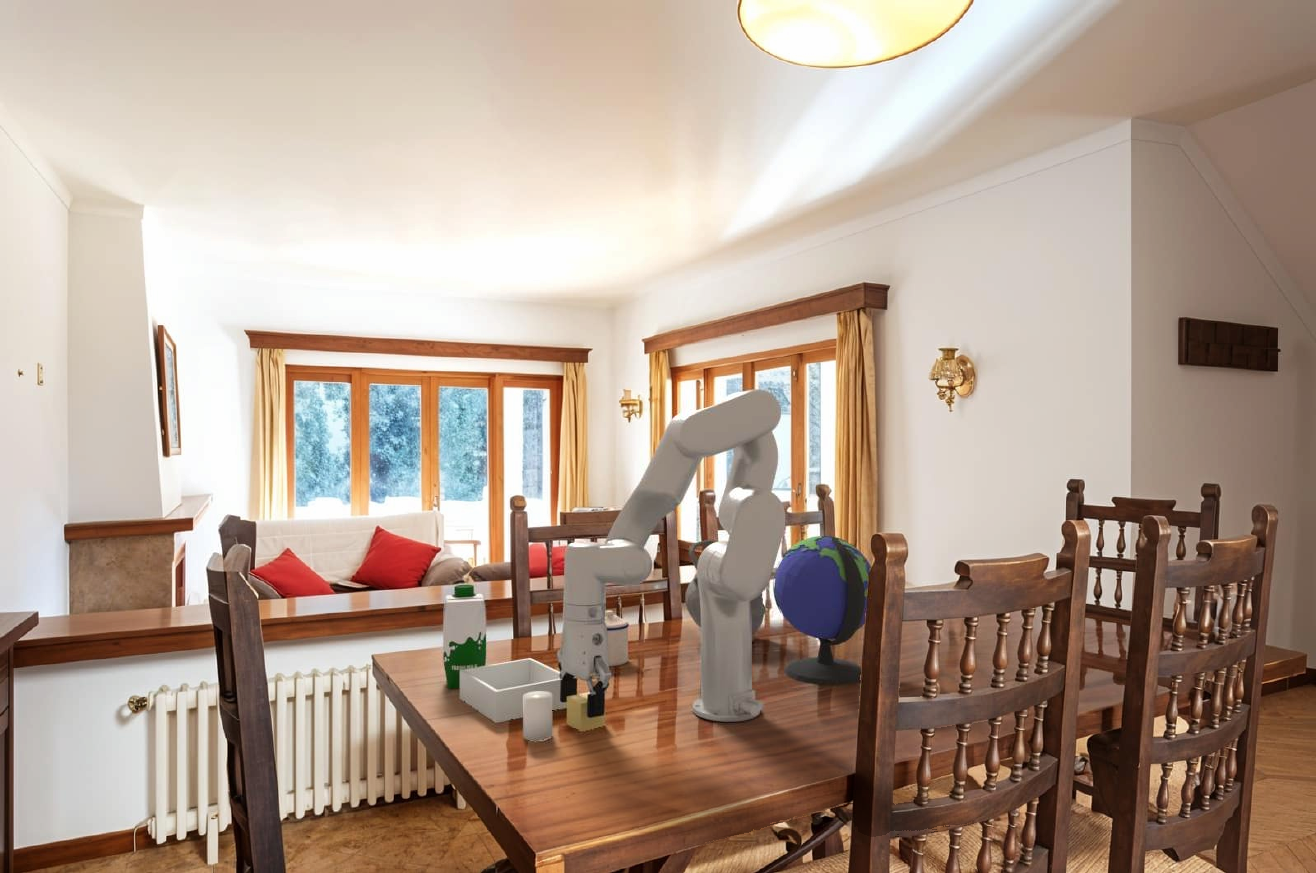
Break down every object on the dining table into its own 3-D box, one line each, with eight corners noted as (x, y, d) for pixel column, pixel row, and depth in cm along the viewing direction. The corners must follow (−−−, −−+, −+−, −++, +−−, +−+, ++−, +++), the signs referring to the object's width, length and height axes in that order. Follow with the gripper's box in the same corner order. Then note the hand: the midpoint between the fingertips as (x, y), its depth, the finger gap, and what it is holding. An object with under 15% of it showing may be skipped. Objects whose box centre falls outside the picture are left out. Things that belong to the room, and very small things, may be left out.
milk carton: (484, 675, 174) (484, 583, 175) (487, 687, 166) (487, 590, 166) (442, 679, 172) (442, 585, 172) (443, 691, 163) (443, 592, 164)
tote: (571, 707, 153) (571, 677, 153) (495, 723, 144) (495, 691, 144) (530, 685, 167) (530, 658, 168) (459, 698, 159) (459, 670, 159)
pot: (671, 636, 210) (671, 540, 210) (740, 628, 218) (739, 536, 219) (709, 655, 191) (709, 549, 191) (782, 645, 200) (782, 544, 200)
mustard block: (605, 726, 143) (605, 698, 143) (580, 732, 140) (580, 703, 140) (591, 719, 147) (590, 691, 147) (566, 724, 144) (566, 696, 144)
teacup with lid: (636, 660, 187) (636, 609, 187) (613, 669, 179) (613, 616, 179) (595, 653, 193) (595, 604, 193) (571, 661, 186) (571, 611, 186)
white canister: (557, 737, 137) (557, 696, 137) (531, 744, 134) (530, 702, 134) (544, 729, 141) (544, 689, 141) (518, 735, 138) (518, 694, 138)
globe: (892, 669, 178) (891, 533, 179) (856, 694, 160) (855, 544, 160) (799, 654, 191) (798, 528, 191) (756, 677, 173) (755, 537, 173)
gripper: (628, 619, 138) (625, 719, 138) (578, 602, 153) (576, 692, 152) (590, 623, 134) (587, 726, 134) (543, 605, 148) (540, 699, 148)
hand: (581, 708), depth 143 cm, fingers open, 9 cm apart
